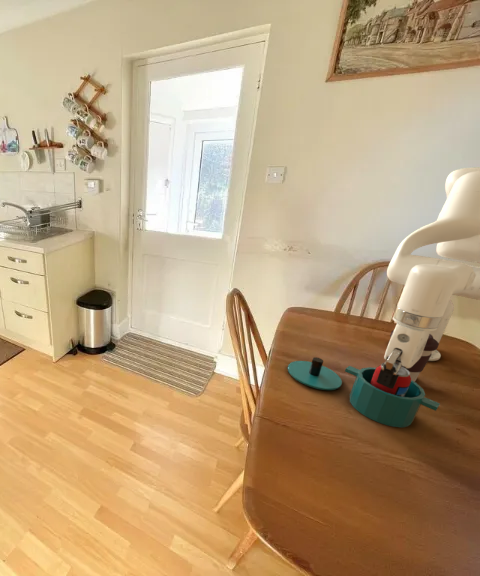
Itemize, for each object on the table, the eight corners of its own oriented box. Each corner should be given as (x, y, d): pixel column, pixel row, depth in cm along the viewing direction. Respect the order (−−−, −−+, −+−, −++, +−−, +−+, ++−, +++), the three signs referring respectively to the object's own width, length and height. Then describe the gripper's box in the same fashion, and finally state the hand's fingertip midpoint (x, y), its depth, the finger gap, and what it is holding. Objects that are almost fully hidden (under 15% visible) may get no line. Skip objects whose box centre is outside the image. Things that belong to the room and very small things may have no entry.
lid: (300, 359, 103) (305, 343, 101) (349, 381, 93) (355, 363, 90) (278, 373, 96) (282, 356, 94) (327, 398, 86) (333, 379, 84)
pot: (349, 381, 92) (357, 357, 89) (433, 420, 78) (447, 393, 75) (329, 398, 86) (338, 372, 83) (417, 443, 72) (432, 414, 69)
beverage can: (400, 420, 78) (417, 380, 73) (365, 410, 81) (380, 371, 77) (394, 403, 83) (410, 366, 79) (361, 394, 86) (375, 358, 82)
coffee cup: (430, 388, 89) (451, 343, 84) (390, 384, 91) (408, 339, 86) (406, 368, 98) (423, 326, 93) (370, 364, 100) (385, 323, 95)
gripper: (427, 335, 65) (399, 400, 71) (449, 314, 74) (422, 373, 80) (381, 321, 71) (359, 382, 77) (407, 303, 80) (385, 359, 86)
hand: (391, 378), depth 79 cm, fingers open, 9 cm apart
